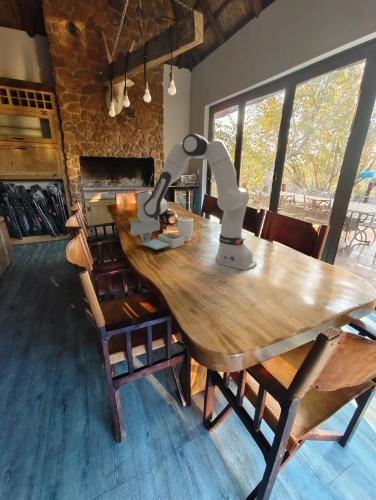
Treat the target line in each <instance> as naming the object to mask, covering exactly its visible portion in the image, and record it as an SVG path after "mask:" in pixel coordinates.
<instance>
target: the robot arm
mask: <svg viewBox="0 0 376 500" xmlns="http://www.w3.org/2000/svg"><path fill="white" fill-rule="evenodd" d="M190 159H193V160H194V159H195V160H201V161H202V160H207V161H208V164H209V167H210V170H211V172H212V175H213V178H214V180H215V181H214V182H215V185H216V191H217V200H216V203H217V206H218V208H219V209H220V210H222V211H224V214H223V216H222V219H221V226H220V234H219V238H218V239H219V240H218V241H219V244H218V249H217V254H216V256H215V260H216V261H217V264H219V265H223V266H227V267H230V268H234V269H237V270H243V271H245V270H246V271H247V270H250V269H252V268H254V267H256V266H257V261H256V260H254V259H253V258H254V257H253V252H252V251H251V250H250V249H249V247H248V246H246V244H244V243H245V242H244V241H245V240H246V238H245V237H244V238H243V236H242V230H243V222H244V219H245V215H246V210H247V206H248V203H249V200H250V194H249V191H248V190H247V189H245V188H243V187H242V186H239V185H238V180H237V171H236V167H235V165H234V163H233V159H232V157H231V154H230V152H229V150H228V148H227V146H226V145H225V143H224V141H222V140H220V139H215V140H212V141H209V139H207V138H205V136H203V135H200V134H198V133H189V134H187V135H186V136H185V137H184V138H183V140H182V141H178V142H175V143H174V144H173V145H172V147H171V149H170V150H169V153H168V154H167V156H166V159H165V162H164V164H163V167H162V170H161V173H160V175H159V178H158V180H157V181H156V184H155V186H154V188H153V190H152V192H151V191H150V190H144V191H140V192H138V193H137V199H136V201H137V202H136V207H137V209H138V210H137V219H133V220H132V221H131V222H130V234H131V235H132V236H133V237H135V236H139V237H140V239H141V241H142V242H144V240H145V238H144V237H143V235H144V234H147V235H150V240H152V238H151V236H152V235H153V232H157V231H160V229H161V226H160V225H161V223H160V215H162V214H163V213H165V212H166V211H167V210H168V201H167V200H166V199H165V198H164V197H165V195H166V193H167V191H168V189H169V187H170V186H171V185H172V184H174V183H175V182H177V181H178V180H179V179H180V178H181V176H182V175H183V173H184V171H185V169H186V166H187V164H188V162H189V160H190Z"/></svg>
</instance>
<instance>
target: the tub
mask: <svg viewBox="0 0 376 500" xmlns="http://www.w3.org/2000/svg"><path fill="white" fill-rule="evenodd" d="M164 236H171V237H172V238H177V239H170V238H167V237H164ZM157 240H159V241H162V242H164V243H167V244H170V246H167V247H168V248H171V249H175V248H178V247H183V246H184V245H185V241H184V237H183V236H180V235H178V233H173V232H170V231H169V232H165V233H160V234H158V235H157Z"/></svg>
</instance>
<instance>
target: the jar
mask: <svg viewBox="0 0 376 500" xmlns="http://www.w3.org/2000/svg"><path fill="white" fill-rule="evenodd" d="M193 222H194V218H192V217H187V216H186V217H185V216H184V217H178V218H177V235H180V236H183V237H184V242H188V241H192V235H193V230H194V223H193Z"/></svg>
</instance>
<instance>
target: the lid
mask: <svg viewBox="0 0 376 500" xmlns="http://www.w3.org/2000/svg"><path fill="white" fill-rule="evenodd" d="M143 237H144V238H145V240H144V241H142V242H140V244H141V245H143V246H146V247H147V248H150V249H153V250H161V249H163V248H167V247H168V246H170V244H167V243H164V242H162V241H159V240H158V239H157V238H153V239H150V235H148V233H145V234H143Z"/></svg>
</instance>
